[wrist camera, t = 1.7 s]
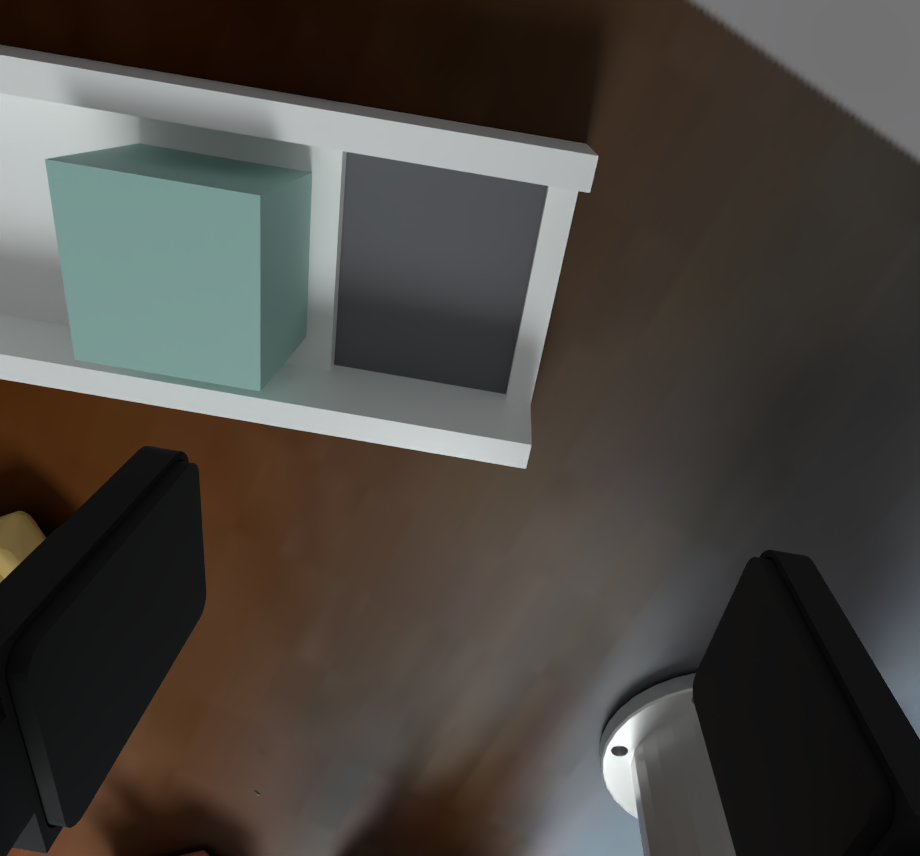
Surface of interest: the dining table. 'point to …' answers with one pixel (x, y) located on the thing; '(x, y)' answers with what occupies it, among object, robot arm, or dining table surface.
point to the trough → (317, 252)
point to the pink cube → (197, 853)
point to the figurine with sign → (19, 542)
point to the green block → (183, 261)
